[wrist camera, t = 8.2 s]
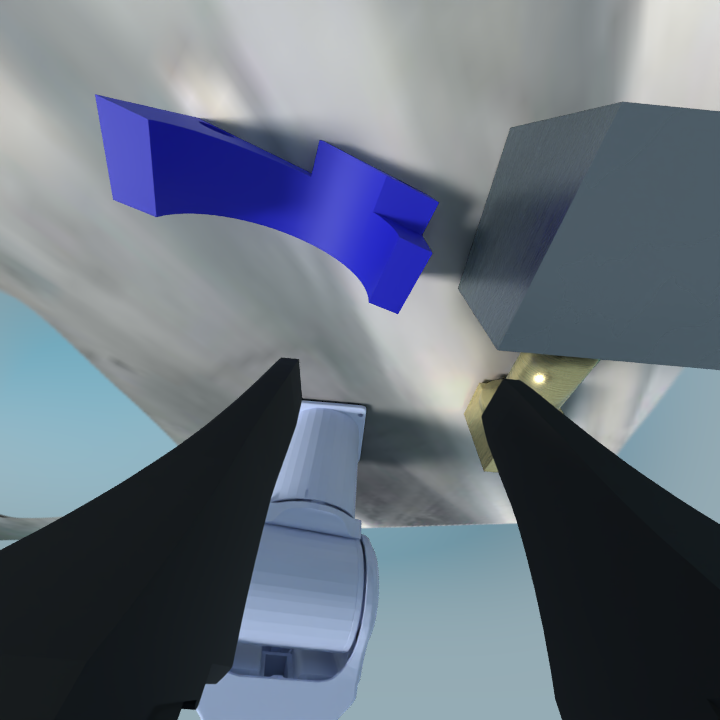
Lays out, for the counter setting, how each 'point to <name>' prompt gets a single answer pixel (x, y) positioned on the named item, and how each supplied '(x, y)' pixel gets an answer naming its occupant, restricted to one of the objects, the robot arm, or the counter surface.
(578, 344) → the block
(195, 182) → the cable clip
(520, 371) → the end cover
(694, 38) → the counter surface
